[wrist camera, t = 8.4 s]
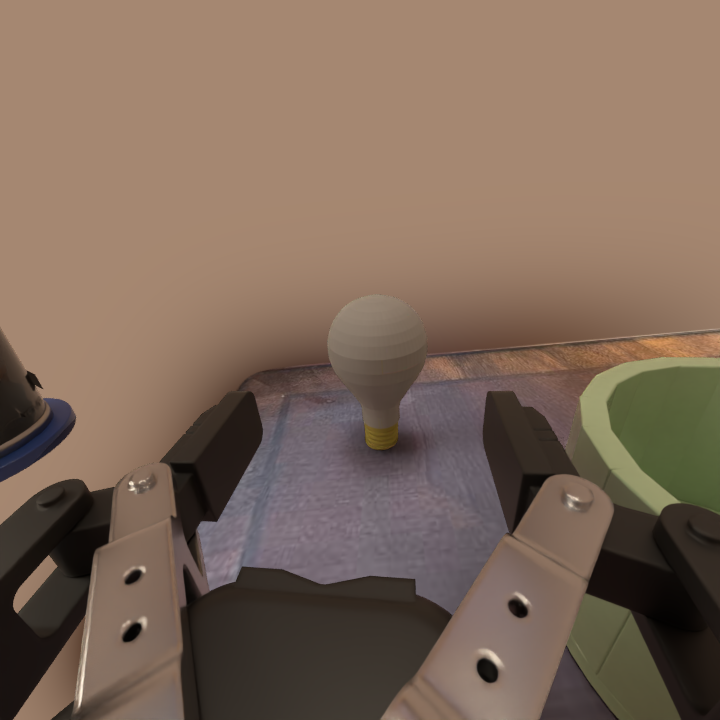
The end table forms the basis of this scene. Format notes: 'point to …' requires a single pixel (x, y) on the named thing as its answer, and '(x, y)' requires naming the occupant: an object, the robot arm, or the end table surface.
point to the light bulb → (378, 360)
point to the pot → (642, 499)
